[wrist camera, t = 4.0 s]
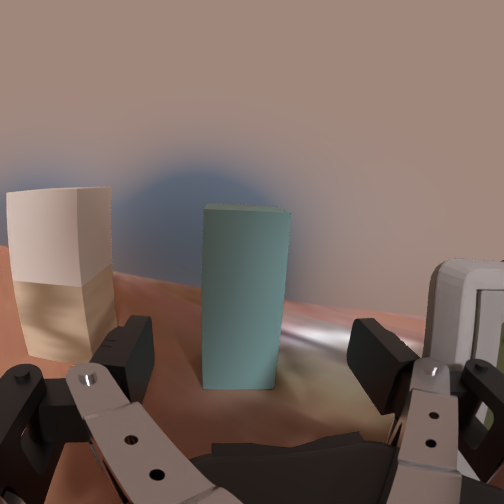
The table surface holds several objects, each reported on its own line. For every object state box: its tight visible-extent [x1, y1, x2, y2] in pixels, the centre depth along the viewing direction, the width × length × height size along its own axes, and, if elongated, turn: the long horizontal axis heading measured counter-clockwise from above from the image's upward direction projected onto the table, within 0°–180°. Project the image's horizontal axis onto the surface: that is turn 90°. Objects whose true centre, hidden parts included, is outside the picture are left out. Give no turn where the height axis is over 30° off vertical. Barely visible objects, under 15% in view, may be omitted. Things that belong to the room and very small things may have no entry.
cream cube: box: [7, 187, 112, 287], centre depth 19 cm, size 6×6×6 cm
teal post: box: [202, 203, 291, 390], centre depth 19 cm, size 4×4×11 cm
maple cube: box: [13, 263, 118, 365], centre depth 20 cm, size 6×6×6 cm
